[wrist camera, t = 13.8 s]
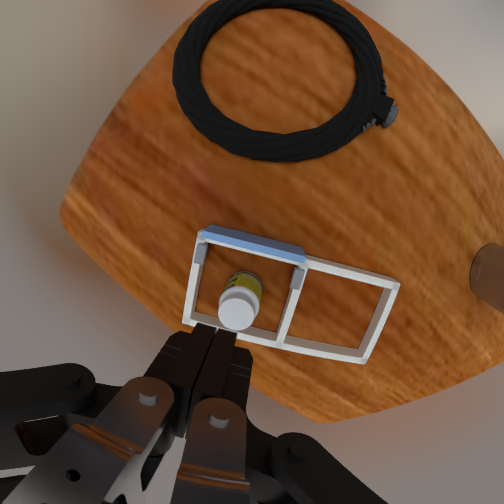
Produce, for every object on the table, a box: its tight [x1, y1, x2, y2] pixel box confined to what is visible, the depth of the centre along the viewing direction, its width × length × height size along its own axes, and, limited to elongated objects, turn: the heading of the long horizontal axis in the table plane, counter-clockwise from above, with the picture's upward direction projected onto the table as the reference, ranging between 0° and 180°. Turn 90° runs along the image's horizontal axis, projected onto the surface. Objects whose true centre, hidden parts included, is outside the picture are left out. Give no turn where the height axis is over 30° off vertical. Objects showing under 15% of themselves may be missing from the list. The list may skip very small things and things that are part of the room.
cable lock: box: [172, 0, 398, 162], centre depth 29 cm, size 28×4×30 cm
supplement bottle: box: [218, 271, 262, 330], centre depth 34 cm, size 5×5×8 cm
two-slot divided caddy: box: [182, 224, 401, 364], centre depth 35 cm, size 27×14×5 cm, turn 76°
